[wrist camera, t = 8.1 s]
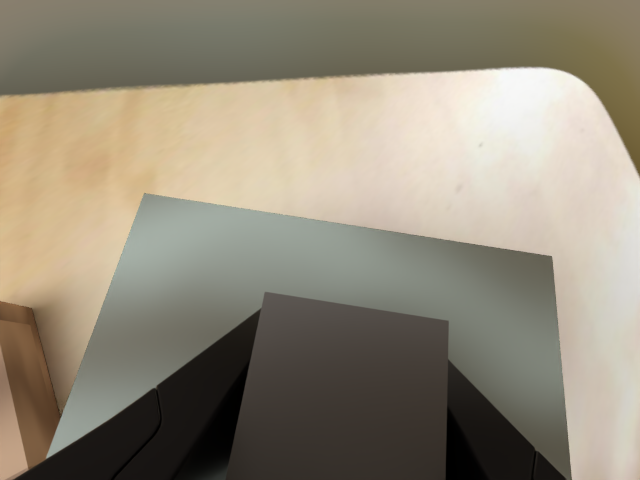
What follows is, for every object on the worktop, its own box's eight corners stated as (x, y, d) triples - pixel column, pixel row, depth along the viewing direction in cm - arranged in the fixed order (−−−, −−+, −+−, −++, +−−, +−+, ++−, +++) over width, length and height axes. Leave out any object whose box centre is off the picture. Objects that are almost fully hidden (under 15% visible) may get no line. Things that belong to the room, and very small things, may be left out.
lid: (548, 628, 10) (1112, 1231, 3) (45, 542, 10) (-512, 916, 3) (527, 267, 14) (754, 165, 7) (160, 210, 14) (16, 55, 7)
